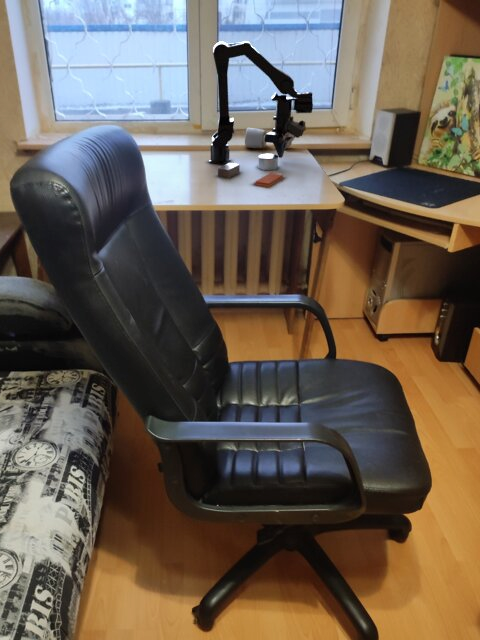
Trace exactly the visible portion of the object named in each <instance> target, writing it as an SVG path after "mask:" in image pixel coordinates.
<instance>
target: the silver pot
mask: <svg viewBox="0 0 480 640" xmlns="http://www.w3.org/2000/svg"><path fill="white" fill-rule="evenodd" d="M257 165H258V167H257V168H258V169H259V170H261V171H274V170H277V169H278V167H279V157H278V154H274V153H262V154H259V155H258V163H257Z"/></svg>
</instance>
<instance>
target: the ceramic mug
mask: <svg viewBox="0 0 480 640" xmlns="http://www.w3.org/2000/svg"><path fill="white" fill-rule="evenodd" d="M267 133H268V132H267V130H266V129H263V128H253V127H247V129H246V130H245V135H244V146H245V148H246V149H264V148H266V145H267V142H264V136H265V135H266V134H267Z"/></svg>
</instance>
